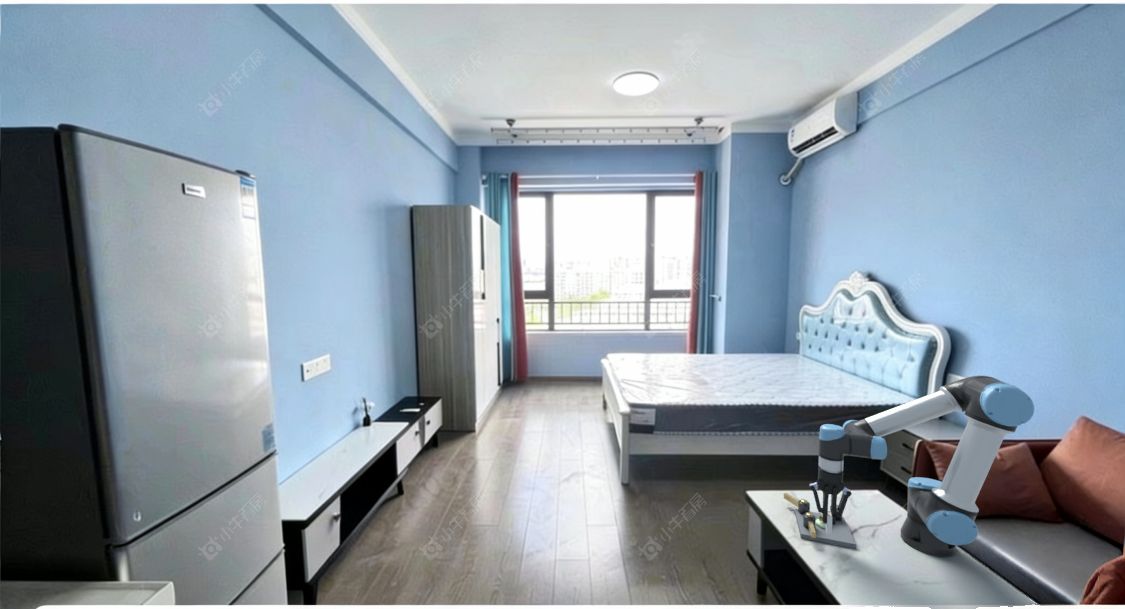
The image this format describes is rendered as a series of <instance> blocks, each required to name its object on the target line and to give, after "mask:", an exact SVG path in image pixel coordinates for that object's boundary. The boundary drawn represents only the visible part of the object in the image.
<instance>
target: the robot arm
mask: <svg viewBox="0 0 1125 609" xmlns="http://www.w3.org/2000/svg"><path fill="white" fill-rule="evenodd" d="M954 412H955V413H961V414H962V413H963V412H964V414H963V415H964V417H965V418H966V420H967V424H966V426H965V428H964V429H963V430H964V431H963V433H962V435H961V437H960V440H959V442H958V444H957V447H956V449H955V451H954V453H953V456H952V459H951V460H950V463H949V465H948V467H947V470H946V472H945V474H944V477H943V479H942V481H940V480H937V479H933V478H929V477H920V476H918V477H917V476H915V477H910V478H909V479H908V482H907V509H906V510H907V511H906V512H907V513H906V515H907V516H906V517H905V520H904V522H903V524H902V526H901V528H900V538H901V539H902V541H903V542H905V543H906V544H907V545H908V546H910V547H912V548H913V549H915V550H918V551H920V552H923V553H925V554H928V555H932V556H936V557H947V558H948V557H953V556H954V555H956V553H957V546H963V545H965V546H966V545H969V544H971V543H973V542H974V541H976V539H977V537H978V535H979V529H978V526H977V524H976V522H975V520H976V518H977V516H978V514H979V511H980V509H979V507H978V506H977V504H976V500H977V498H978V497H979V494H980V491H981V490H982V487H983V485H984V483H985V481H986V478H987V476H988V474H989V471H990V469H991V467H992V465H993V463H994V460H995V458H996V457H997V454H998V452H999V449H1000V448H1001V445H1002V444H1003V443H1002V442H1003V441H1004V439H1005V437H1006V436H1008V435H1010V434H1014V433H1015V432H1016V430H1017V428H1018V426H1022V424H1026V423H1028V422H1029V421H1030V420H1031V419H1032V417H1033V416H1034V413H1035V405H1034V401H1033V400H1032V399H1031V397H1030V396H1029V394H1027V393H1026V392H1025V391H1024V390H1022V389H1021V388H1019V387H1017V386H1015V385H1013V384H1010V383H1007V382H1005V381H1002V380H999V379H997V378H995V377H992V376H989V375H974V376H973V375H972V376H968V377H964V378H962V379H957V380H955V381H952V382H949V383H947V384H944V385H942V386H940V387H939V390H938V391H935V392H933V393H930V394H927V395H925V396H921V397H919V398H916V399H914V400H912V401H909V402H905V403H903V404H900V405H898V406H895V407H892V408H890V409H887V410H884V411H882V412H879V413H876V414H874V415H871V416H868V417H866V418H864V419H859V420H855V419H849V420H846V421H845V422H843V425H842V426H840V425H837V424H831V423H825V424H822V425H821V426H819V427H820V428H819V435H818V465H817V466H818V467H817V468H818V470H817V471H818V473H817V479H816V481H815V482H814V483H813V482H810V483H809V484H808V485H809V487H810V490H811V491H812V493H813V498H814V501H815V505H816V509H817V513H822V514H823V522H824V523H826V532H827V534H832V525H835V524H836V517H837V516H842V517H843V514H844V511H845V508H846V505H847V502H848V499H849V498H850V496H852V492H851V489H849V488H847V487H846V486H845V484H844V482H843V481H844V457H845V456H849V457H850V456H851V457H857V458H865V459H871V460H885V459H886V458H887V455H888V446H887V442H886V439H885V438H883V437H884V436H888V435H890V434H893V433H896V432H900V431H902V430H905V429H908V428H910V427H914V426H916V425H919V424H922V423H925V422H928V421H930V420H933V419H937V418H939V417H942V416H945V415H948V414H950V413H954ZM818 488H819V489H820V490H821V491H822V505H821V502H820V498H819V494H818V491H817V490H818ZM841 492H842V494H841V497H840V500H839V501H838V502H839V503H838V504H837V498H838V495H839V494H840V493H841ZM829 495H831V496H830V506H831V513H828V511H829ZM836 505H838V508H837V510H836ZM821 506H822V507H821Z"/></svg>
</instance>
